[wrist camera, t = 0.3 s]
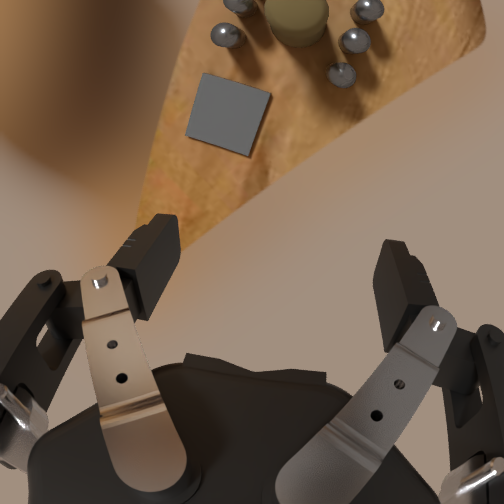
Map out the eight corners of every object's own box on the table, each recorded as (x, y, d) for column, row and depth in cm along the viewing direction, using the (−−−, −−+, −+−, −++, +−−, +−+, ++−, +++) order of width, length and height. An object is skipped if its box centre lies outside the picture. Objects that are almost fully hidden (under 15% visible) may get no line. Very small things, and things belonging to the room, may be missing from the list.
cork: (335, 36, 28) (349, 25, 19) (285, 56, 30) (279, 53, 21) (309, -9, 25) (312, -37, 16) (259, 11, 28) (242, -8, 19)
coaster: (204, 72, 32) (202, 72, 32) (270, 93, 33) (270, 93, 32) (186, 134, 37) (185, 135, 36) (248, 154, 37) (247, 156, 37)
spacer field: (249, -34, 24) (241, -47, 20) (376, 10, 25) (387, 3, 21) (219, 45, 30) (207, 43, 26) (343, 88, 31) (350, 92, 27)
